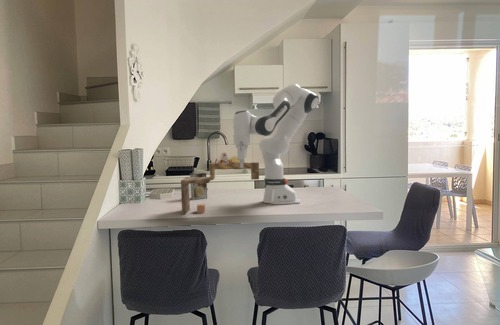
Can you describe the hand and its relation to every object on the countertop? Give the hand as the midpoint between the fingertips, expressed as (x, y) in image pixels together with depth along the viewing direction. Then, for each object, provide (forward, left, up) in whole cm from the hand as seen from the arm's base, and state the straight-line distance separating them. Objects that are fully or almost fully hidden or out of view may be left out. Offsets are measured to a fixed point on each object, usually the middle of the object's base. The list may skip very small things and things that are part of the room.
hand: (242, 167), depth 213 cm
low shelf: (+24, 0, -24) cm, 34 cm away
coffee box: (+30, -42, -24) cm, 57 cm away
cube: (+22, 0, -24) cm, 33 cm away
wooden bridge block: (+4, 0, -6) cm, 7 cm away
